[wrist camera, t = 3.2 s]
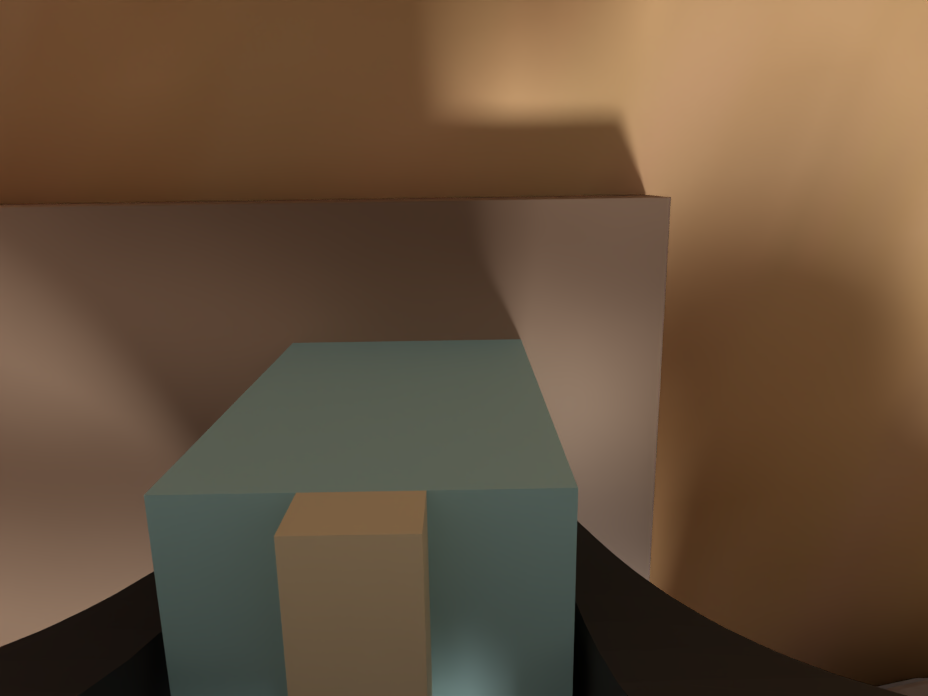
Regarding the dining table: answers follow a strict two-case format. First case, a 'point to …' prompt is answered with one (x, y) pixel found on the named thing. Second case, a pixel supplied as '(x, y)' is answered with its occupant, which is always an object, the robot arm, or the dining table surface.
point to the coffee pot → (909, 687)
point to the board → (297, 321)
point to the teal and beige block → (372, 530)
